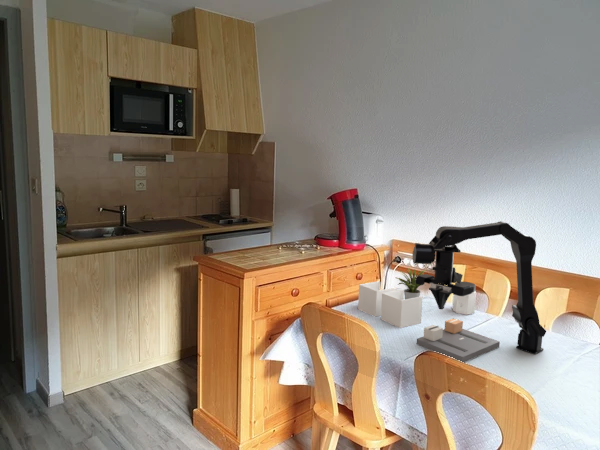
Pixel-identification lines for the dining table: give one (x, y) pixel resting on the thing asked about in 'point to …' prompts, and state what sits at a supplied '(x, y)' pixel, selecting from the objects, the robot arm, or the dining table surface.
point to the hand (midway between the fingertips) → (440, 309)
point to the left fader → (433, 332)
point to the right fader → (453, 325)
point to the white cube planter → (390, 305)
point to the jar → (465, 301)
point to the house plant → (411, 285)
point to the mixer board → (460, 344)
